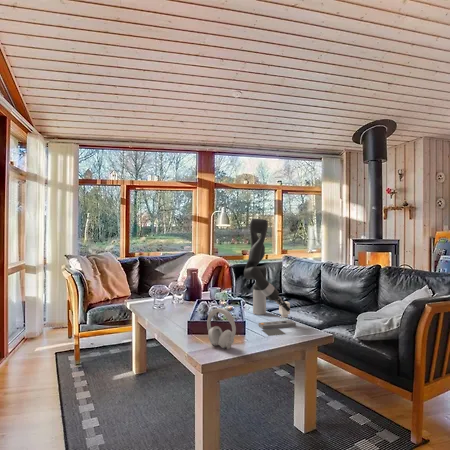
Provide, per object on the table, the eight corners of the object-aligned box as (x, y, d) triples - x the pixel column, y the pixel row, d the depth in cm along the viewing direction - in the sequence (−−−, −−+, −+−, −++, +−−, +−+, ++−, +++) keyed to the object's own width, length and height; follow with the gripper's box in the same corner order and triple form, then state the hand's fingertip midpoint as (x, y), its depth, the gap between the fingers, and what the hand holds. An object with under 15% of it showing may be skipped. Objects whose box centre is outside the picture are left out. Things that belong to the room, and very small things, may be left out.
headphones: (202, 344, 193) (202, 306, 193) (213, 340, 199) (213, 304, 199) (229, 353, 180) (229, 313, 180) (239, 349, 186) (240, 310, 186)
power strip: (258, 326, 225) (258, 322, 225) (290, 324, 231) (290, 319, 231) (262, 330, 218) (262, 325, 218) (295, 327, 224) (295, 322, 224)
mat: (261, 331, 216) (261, 330, 216) (278, 329, 219) (278, 328, 219) (268, 336, 206) (268, 335, 206) (286, 335, 209) (286, 334, 209)
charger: (278, 315, 228) (279, 301, 228) (286, 315, 229) (286, 301, 229) (282, 318, 223) (282, 303, 223) (289, 317, 224) (289, 303, 224)
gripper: (278, 288, 217) (296, 307, 220) (268, 284, 231) (286, 302, 234) (270, 298, 215) (288, 316, 219) (261, 293, 229) (278, 310, 233)
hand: (287, 309), depth 227 cm, fingers closed on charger, 5 cm apart
